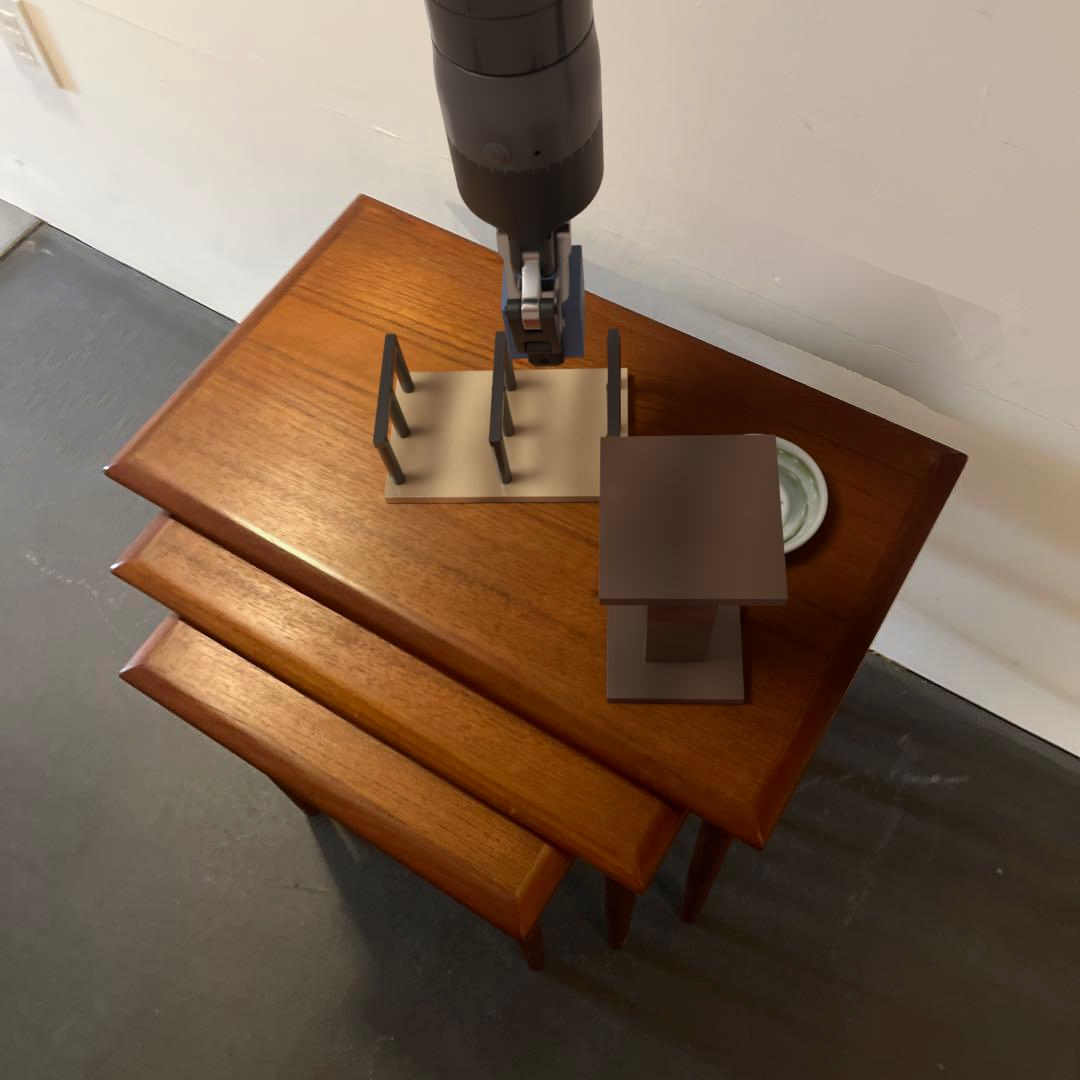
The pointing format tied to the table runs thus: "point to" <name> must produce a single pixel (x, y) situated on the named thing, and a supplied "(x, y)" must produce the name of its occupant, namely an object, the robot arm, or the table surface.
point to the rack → (497, 429)
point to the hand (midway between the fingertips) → (548, 324)
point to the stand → (686, 561)
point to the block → (570, 309)
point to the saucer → (799, 494)
